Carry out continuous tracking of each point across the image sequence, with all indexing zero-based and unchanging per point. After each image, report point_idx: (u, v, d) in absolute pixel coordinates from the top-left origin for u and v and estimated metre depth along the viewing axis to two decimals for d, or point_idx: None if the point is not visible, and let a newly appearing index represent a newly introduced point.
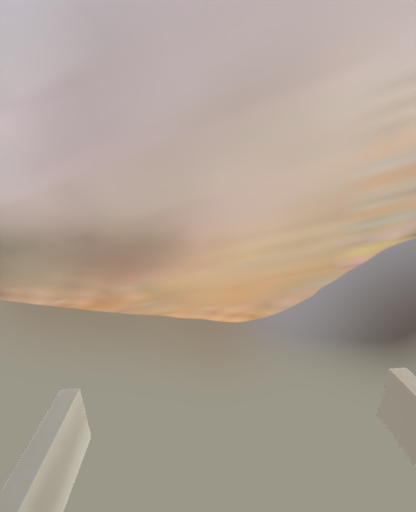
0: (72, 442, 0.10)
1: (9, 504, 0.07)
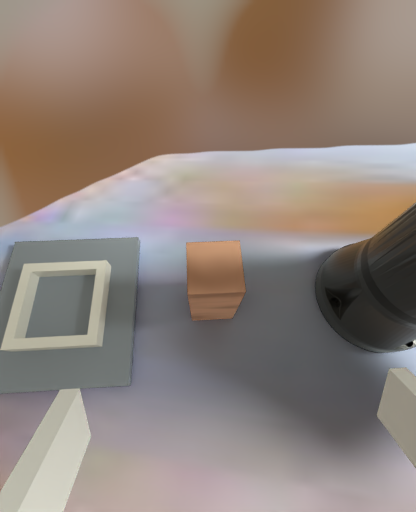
0: (72, 442, 0.10)
1: (9, 504, 0.07)
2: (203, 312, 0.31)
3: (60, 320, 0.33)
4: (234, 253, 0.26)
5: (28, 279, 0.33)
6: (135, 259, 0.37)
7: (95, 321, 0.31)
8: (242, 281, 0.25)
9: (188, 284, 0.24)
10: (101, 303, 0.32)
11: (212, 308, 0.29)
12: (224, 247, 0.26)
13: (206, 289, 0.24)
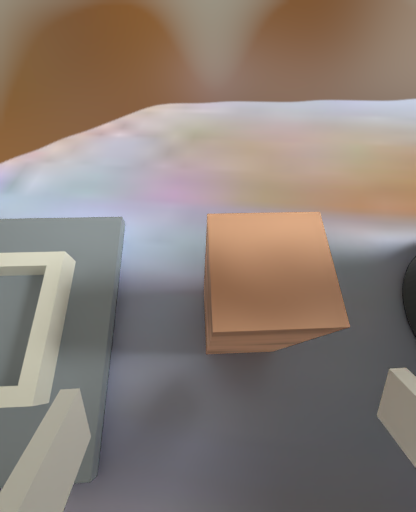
0: (72, 442, 0.10)
1: (9, 504, 0.07)
2: (230, 348, 0.17)
3: None
4: (313, 238, 0.12)
5: None
6: (115, 251, 0.23)
7: (35, 360, 0.17)
8: (338, 301, 0.11)
9: (214, 307, 0.10)
10: (49, 326, 0.19)
11: (250, 345, 0.15)
12: (289, 225, 0.12)
13: (256, 320, 0.10)
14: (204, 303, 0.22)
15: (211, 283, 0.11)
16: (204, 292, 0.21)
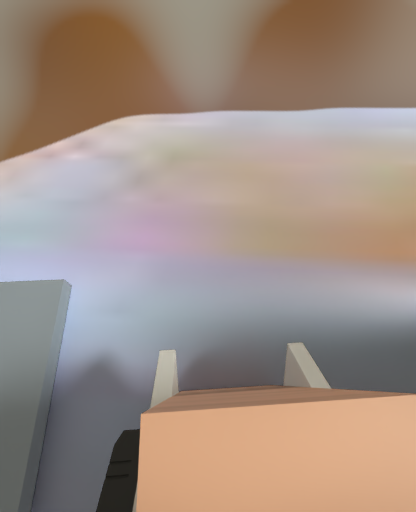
0: (175, 391, 0.12)
1: None
2: None
3: None
4: None
5: None
6: (49, 336, 0.16)
7: None
8: None
9: None
10: None
11: None
12: (355, 446, 0.05)
13: None
14: None
15: None
16: None
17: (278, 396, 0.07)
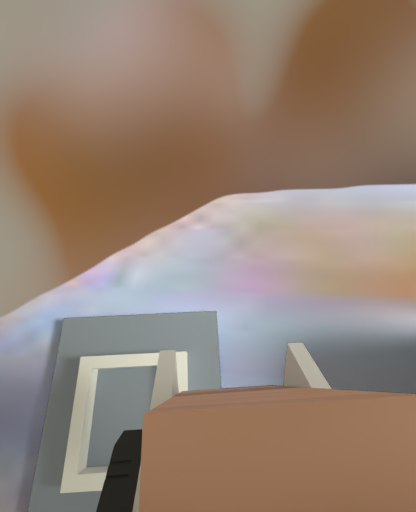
0: (175, 391, 0.12)
1: None
2: None
3: None
4: None
5: (88, 381, 0.26)
6: (216, 343, 0.29)
7: None
8: None
9: None
10: None
11: None
12: (358, 447, 0.05)
13: None
14: None
15: None
16: None
17: (280, 396, 0.07)
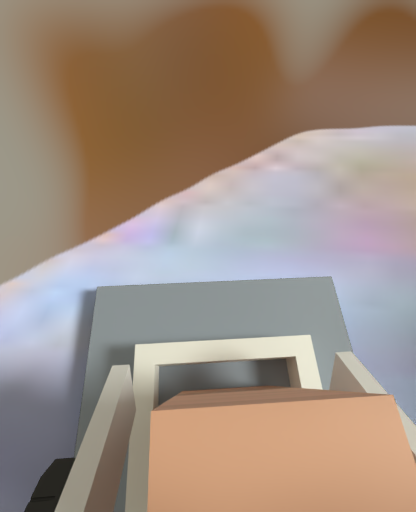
0: (126, 411, 0.11)
1: (91, 452, 0.08)
2: None
3: None
4: (390, 479, 0.05)
5: (152, 386, 0.15)
6: (342, 324, 0.19)
7: None
8: None
9: None
10: None
11: None
12: (332, 439, 0.05)
13: None
14: None
15: None
16: None
17: (270, 396, 0.08)
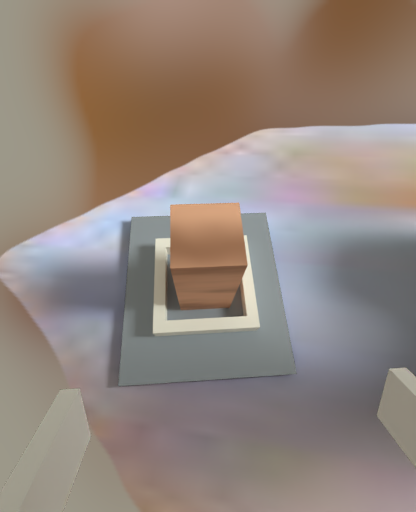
0: (72, 442, 0.10)
1: (9, 504, 0.07)
2: (193, 298, 0.25)
3: None
4: (233, 218, 0.20)
5: (164, 256, 0.29)
6: (268, 236, 0.33)
7: (252, 301, 0.28)
8: (243, 252, 0.19)
9: (171, 255, 0.18)
10: (252, 281, 0.29)
11: (204, 292, 0.23)
12: (219, 210, 0.20)
13: (195, 262, 0.18)
14: None
15: (170, 243, 0.19)
16: None
17: None
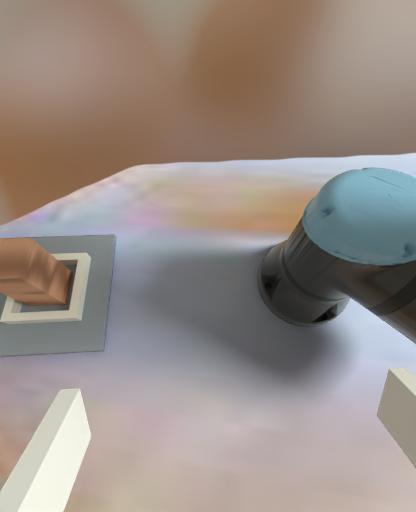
0: (72, 442, 0.10)
1: (9, 504, 0.07)
2: (24, 297, 0.37)
3: None
4: (22, 247, 0.32)
5: None
6: (111, 252, 0.45)
7: (75, 300, 0.40)
8: (20, 269, 0.31)
9: None
10: (81, 286, 0.41)
11: (24, 293, 0.36)
12: (16, 243, 0.32)
13: None
14: None
15: None
16: None
17: None
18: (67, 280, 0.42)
